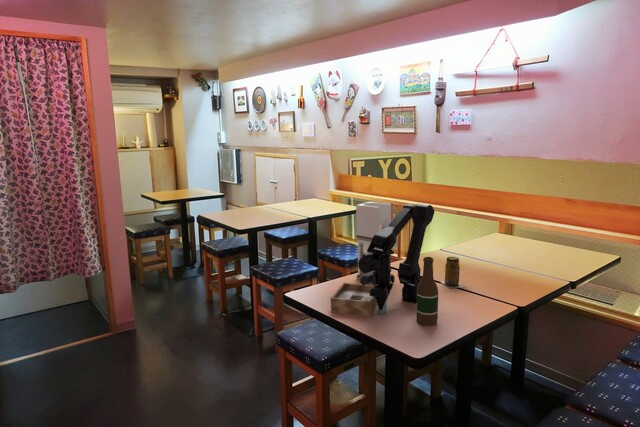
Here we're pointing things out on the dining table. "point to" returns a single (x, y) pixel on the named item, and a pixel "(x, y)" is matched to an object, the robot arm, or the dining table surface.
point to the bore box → (353, 300)
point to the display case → (370, 225)
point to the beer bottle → (427, 296)
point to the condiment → (452, 273)
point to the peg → (383, 308)
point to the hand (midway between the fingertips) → (382, 306)
